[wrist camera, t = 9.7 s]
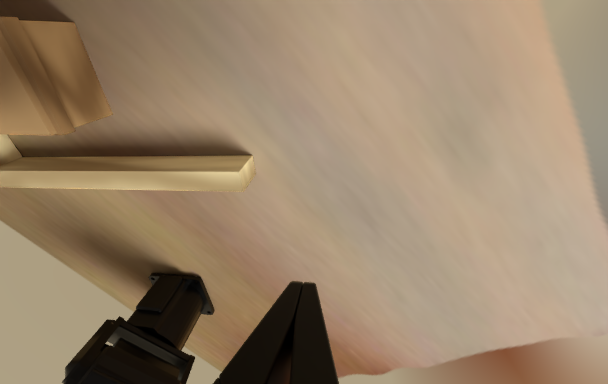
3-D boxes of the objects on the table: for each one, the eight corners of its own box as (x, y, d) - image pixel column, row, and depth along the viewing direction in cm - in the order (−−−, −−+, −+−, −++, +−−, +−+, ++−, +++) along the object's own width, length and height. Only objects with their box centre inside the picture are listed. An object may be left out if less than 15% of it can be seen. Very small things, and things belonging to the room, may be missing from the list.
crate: (119, 115, 20) (58, 137, 16) (46, 114, 21) (-30, 135, 17) (80, 20, 17) (-10, 15, 13) (-4, 25, 18) (-113, 22, 14)
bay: (255, 173, 21) (221, 225, 15) (8, 172, 25) (-89, 211, 20) (201, -107, 13) (86, -215, 7) (-148, -37, 17) (-389, -71, 12)
